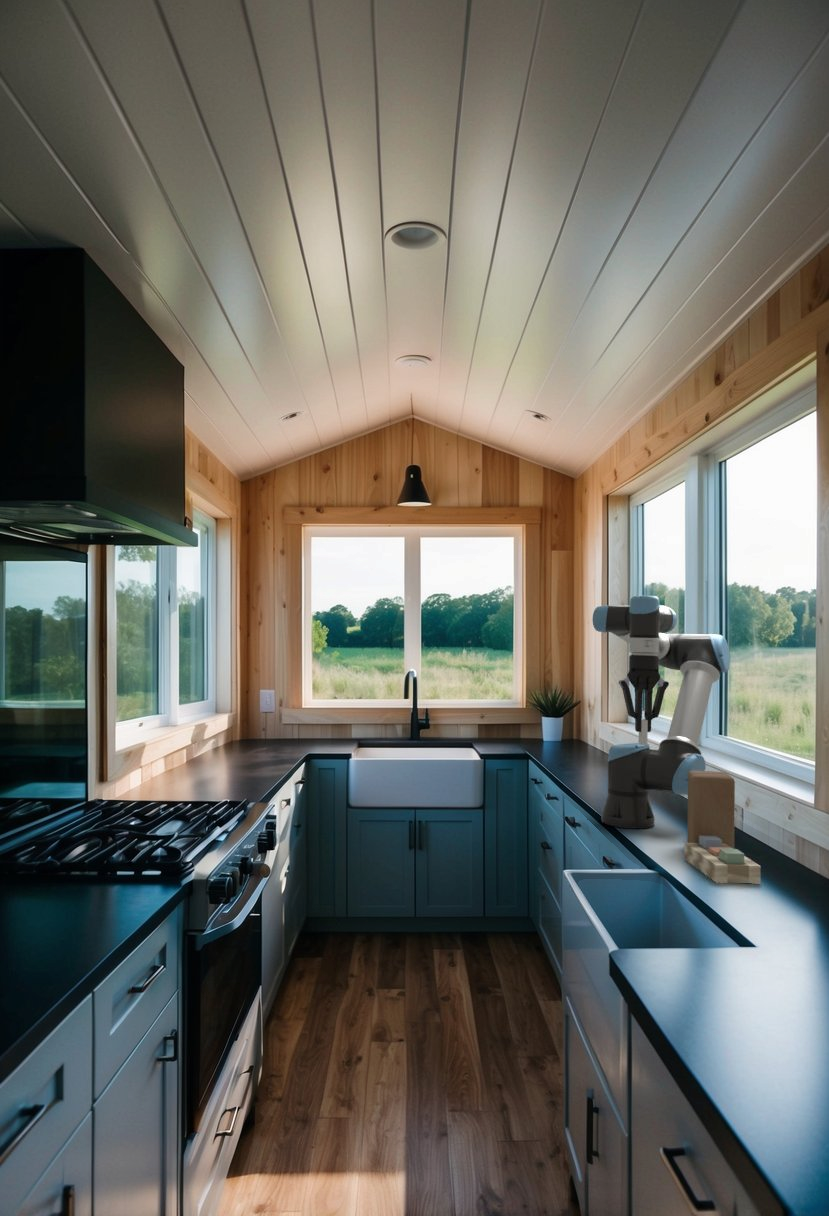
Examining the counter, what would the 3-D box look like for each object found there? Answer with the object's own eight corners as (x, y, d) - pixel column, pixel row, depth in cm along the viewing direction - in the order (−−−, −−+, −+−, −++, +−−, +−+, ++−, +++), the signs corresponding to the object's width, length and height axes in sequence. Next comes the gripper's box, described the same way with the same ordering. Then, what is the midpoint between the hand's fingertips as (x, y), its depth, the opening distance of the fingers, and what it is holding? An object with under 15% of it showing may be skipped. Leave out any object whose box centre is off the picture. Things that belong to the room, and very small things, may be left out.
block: (734, 859, 193) (735, 778, 194) (692, 856, 195) (693, 775, 196) (727, 849, 203) (727, 771, 204) (686, 846, 205) (687, 769, 206)
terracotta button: (708, 864, 185) (708, 847, 185) (725, 864, 185) (725, 847, 185) (715, 869, 181) (715, 851, 181) (732, 869, 181) (732, 851, 181)
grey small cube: (698, 852, 191) (699, 835, 191) (715, 852, 191) (715, 835, 191) (705, 856, 187) (705, 839, 187) (721, 856, 187) (722, 839, 187)
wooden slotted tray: (684, 859, 192) (684, 842, 192) (724, 859, 192) (724, 843, 193) (715, 883, 173) (716, 865, 173) (760, 884, 173) (760, 865, 174)
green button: (719, 866, 179) (719, 848, 179) (736, 866, 179) (736, 849, 179) (726, 871, 175) (726, 853, 175) (744, 871, 175) (744, 853, 175)
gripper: (623, 654, 202) (622, 746, 201) (673, 655, 202) (672, 747, 201) (615, 653, 209) (614, 742, 208) (663, 654, 209) (662, 743, 208)
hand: (642, 744), depth 205 cm, fingers closed
